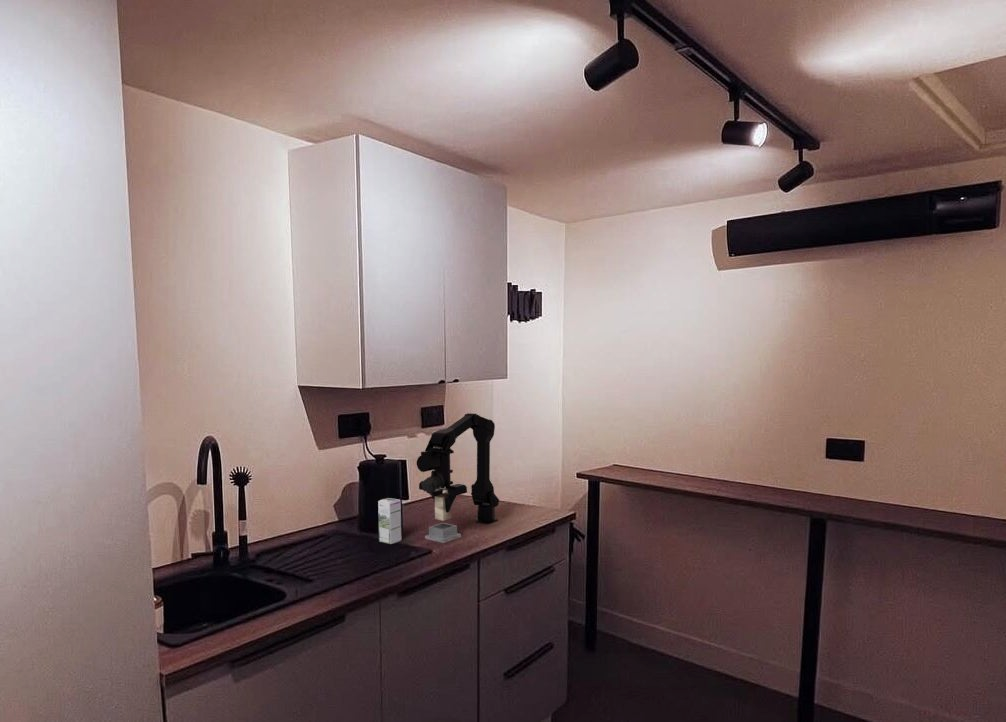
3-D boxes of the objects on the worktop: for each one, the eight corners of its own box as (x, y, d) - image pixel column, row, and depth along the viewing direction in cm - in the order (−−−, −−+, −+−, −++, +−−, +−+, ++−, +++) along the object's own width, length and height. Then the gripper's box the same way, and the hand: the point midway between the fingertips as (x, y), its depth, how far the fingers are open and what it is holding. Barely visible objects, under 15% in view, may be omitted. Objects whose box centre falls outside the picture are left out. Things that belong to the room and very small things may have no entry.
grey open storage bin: (443, 532, 221) (442, 521, 221) (461, 536, 216) (460, 525, 216) (425, 538, 214) (424, 527, 214) (443, 542, 209) (443, 531, 209)
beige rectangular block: (443, 516, 218) (442, 494, 218) (451, 518, 215) (450, 495, 215) (435, 518, 215) (434, 496, 215) (443, 520, 212) (442, 497, 212)
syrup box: (402, 540, 212) (401, 499, 212) (389, 544, 208) (389, 502, 208) (390, 538, 216) (389, 497, 216) (378, 542, 211) (377, 500, 211)
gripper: (407, 468, 215) (408, 512, 215) (445, 473, 203) (446, 520, 203) (429, 463, 223) (430, 506, 223) (467, 468, 212) (468, 513, 212)
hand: (443, 511), depth 215 cm, fingers closed on beige rectangular block, 4 cm apart
